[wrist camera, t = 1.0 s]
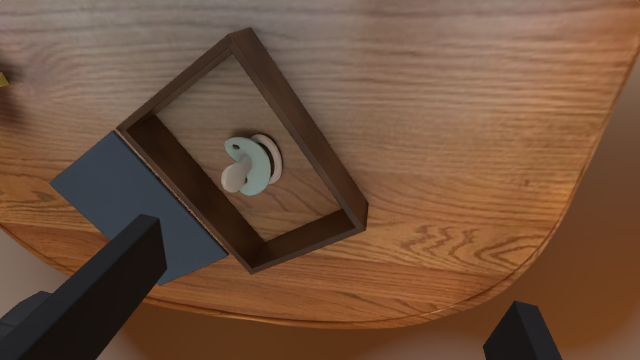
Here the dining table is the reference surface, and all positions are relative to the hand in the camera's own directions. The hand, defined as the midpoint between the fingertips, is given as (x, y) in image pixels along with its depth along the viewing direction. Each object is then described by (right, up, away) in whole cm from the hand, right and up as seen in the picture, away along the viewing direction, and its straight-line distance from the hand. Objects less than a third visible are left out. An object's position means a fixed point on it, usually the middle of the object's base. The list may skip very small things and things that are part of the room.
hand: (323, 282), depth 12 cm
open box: (-7, +6, +26) cm, 28 cm away
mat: (-26, -2, +35) cm, 43 cm away
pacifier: (-7, +6, +26) cm, 28 cm away
